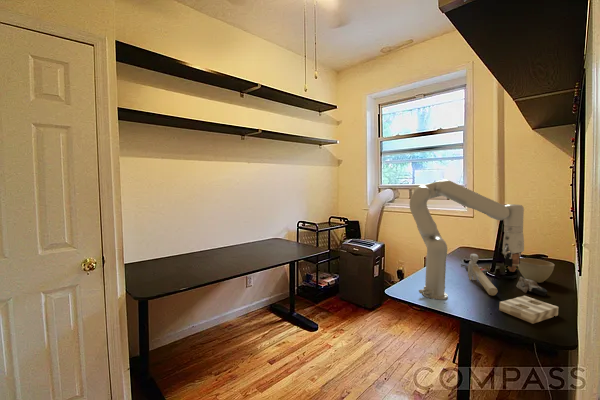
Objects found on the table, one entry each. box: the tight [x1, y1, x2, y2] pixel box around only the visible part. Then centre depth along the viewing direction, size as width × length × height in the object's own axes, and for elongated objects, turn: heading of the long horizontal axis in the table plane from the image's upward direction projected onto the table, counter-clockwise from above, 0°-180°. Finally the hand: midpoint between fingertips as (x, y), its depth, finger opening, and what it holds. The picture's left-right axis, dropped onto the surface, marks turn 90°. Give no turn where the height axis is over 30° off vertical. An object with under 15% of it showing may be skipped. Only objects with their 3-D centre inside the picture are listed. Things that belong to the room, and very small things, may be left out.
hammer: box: [467, 253, 499, 297], centre depth 167 cm, size 16×5×30 cm
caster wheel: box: [515, 276, 548, 297], centre depth 158 cm, size 7×11×10 cm
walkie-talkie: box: [460, 263, 489, 275], centre depth 197 cm, size 9×4×20 cm
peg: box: [507, 253, 519, 273], centre depth 141 cm, size 6×6×9 cm
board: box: [498, 295, 559, 324], centre depth 133 cm, size 20×14×4 cm
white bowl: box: [517, 257, 555, 284], centre depth 178 cm, size 18×18×12 cm
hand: (512, 265), depth 141 cm, fingers closed on peg, 5 cm apart
